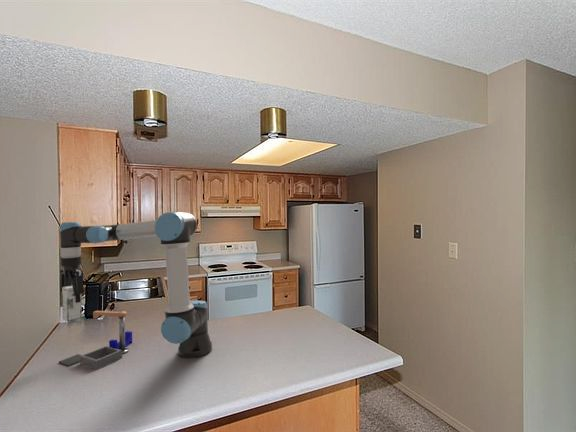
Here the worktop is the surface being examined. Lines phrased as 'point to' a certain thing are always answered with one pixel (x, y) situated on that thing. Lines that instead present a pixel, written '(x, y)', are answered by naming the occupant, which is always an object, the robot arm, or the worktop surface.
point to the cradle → (95, 363)
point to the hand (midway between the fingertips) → (72, 308)
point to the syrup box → (69, 304)
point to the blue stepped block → (127, 341)
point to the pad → (71, 360)
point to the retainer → (109, 313)
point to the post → (122, 335)
